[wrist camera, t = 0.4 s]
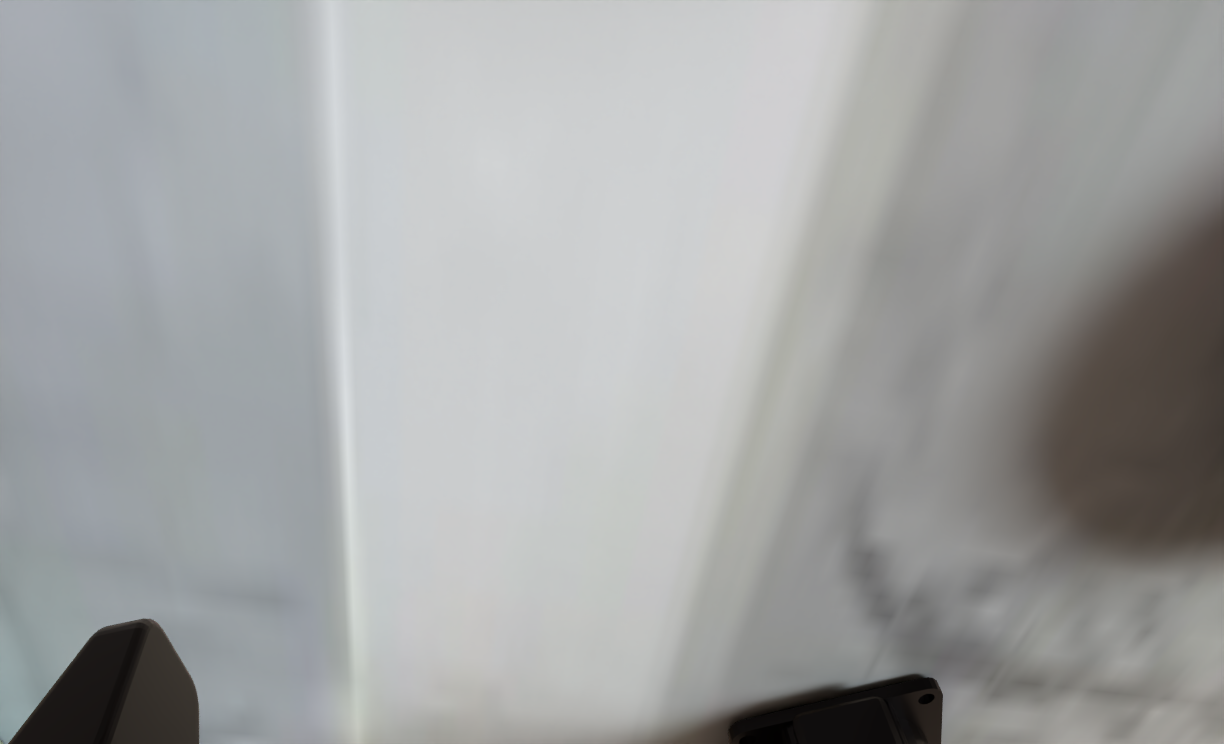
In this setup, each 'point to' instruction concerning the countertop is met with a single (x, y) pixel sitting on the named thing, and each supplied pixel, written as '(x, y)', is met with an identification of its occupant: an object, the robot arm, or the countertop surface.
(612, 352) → the countertop surface
